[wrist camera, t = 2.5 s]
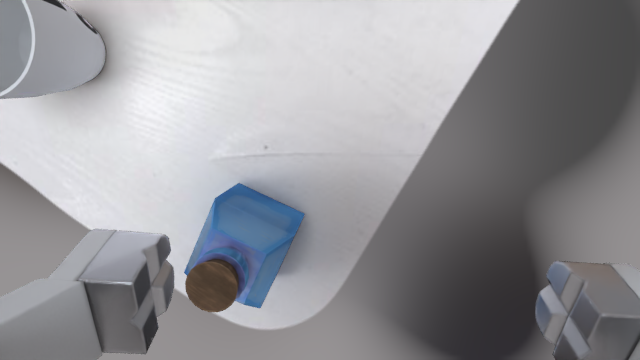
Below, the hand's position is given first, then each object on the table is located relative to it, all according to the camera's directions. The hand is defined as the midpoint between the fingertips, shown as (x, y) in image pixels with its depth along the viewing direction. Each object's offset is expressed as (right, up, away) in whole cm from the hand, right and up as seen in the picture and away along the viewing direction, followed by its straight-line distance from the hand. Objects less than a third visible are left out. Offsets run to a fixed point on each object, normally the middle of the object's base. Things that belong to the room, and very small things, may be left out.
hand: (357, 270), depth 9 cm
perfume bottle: (-6, -2, +28) cm, 29 cm away
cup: (-21, +13, +27) cm, 37 cm away
